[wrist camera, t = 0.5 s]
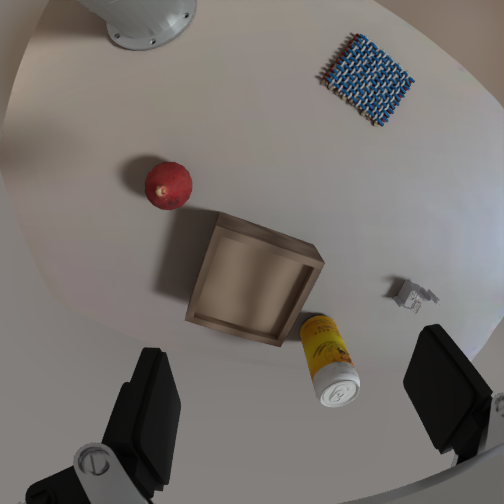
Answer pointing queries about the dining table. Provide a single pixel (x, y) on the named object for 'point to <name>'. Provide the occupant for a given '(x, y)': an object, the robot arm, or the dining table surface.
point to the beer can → (329, 362)
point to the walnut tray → (253, 281)
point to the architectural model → (413, 295)
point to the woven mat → (368, 79)
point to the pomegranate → (168, 185)
